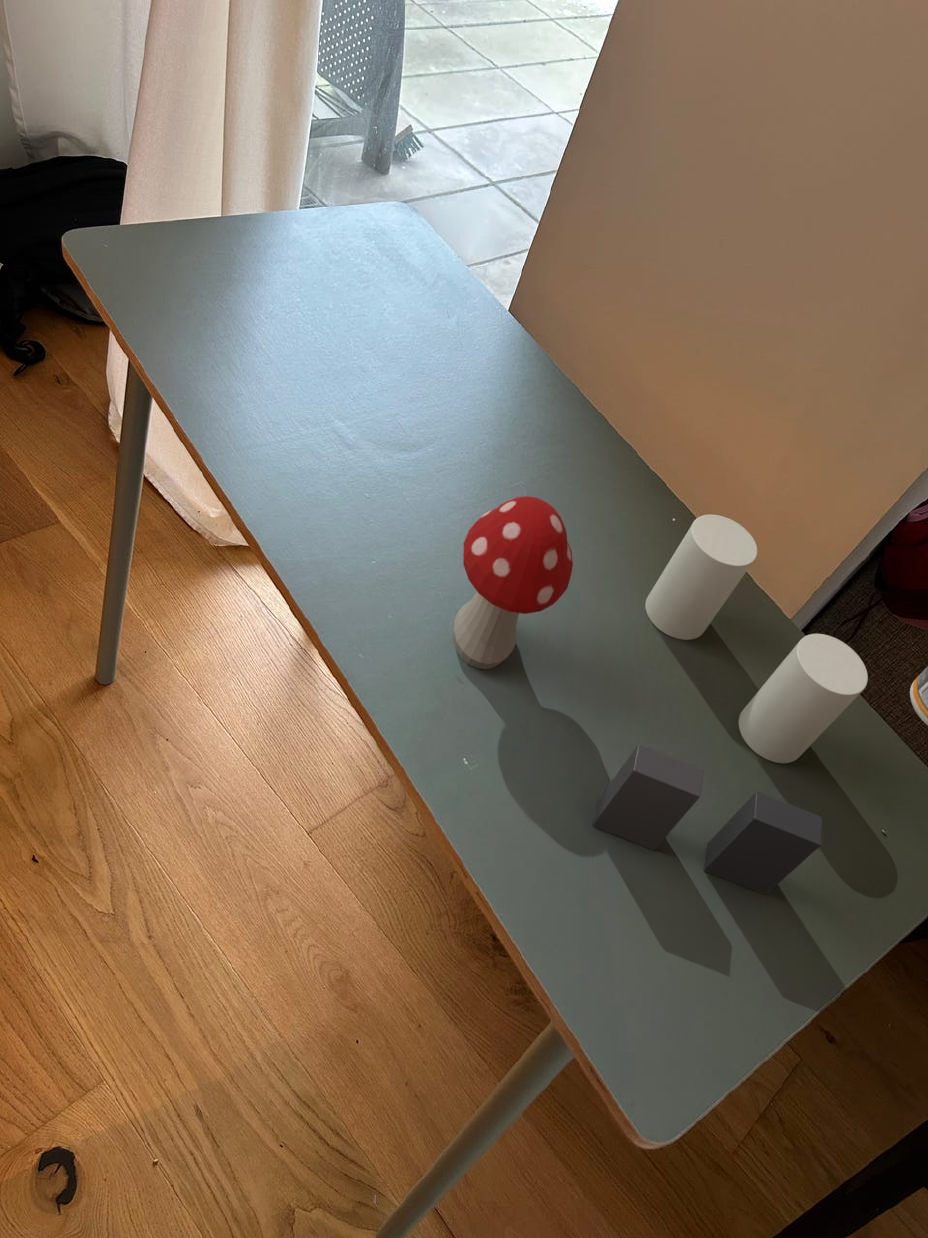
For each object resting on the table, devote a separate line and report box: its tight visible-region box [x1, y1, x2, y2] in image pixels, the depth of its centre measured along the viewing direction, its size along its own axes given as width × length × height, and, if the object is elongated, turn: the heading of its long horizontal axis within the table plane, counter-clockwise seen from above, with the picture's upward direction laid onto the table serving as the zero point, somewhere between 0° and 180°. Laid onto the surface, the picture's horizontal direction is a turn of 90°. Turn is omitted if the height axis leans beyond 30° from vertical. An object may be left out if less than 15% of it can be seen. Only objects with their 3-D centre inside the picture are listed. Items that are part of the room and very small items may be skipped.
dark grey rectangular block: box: [592, 744, 705, 851], centre depth 73 cm, size 5×2×8 cm, turn 74°
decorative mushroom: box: [453, 495, 574, 670], centre depth 78 cm, size 10×9×15 cm
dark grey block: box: [703, 791, 823, 896], centre depth 73 cm, size 5×2×8 cm, turn 74°
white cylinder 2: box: [738, 633, 869, 764], centre depth 82 cm, size 6×6×10 cm
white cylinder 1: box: [644, 514, 758, 641], centre depth 89 cm, size 6×6×10 cm
